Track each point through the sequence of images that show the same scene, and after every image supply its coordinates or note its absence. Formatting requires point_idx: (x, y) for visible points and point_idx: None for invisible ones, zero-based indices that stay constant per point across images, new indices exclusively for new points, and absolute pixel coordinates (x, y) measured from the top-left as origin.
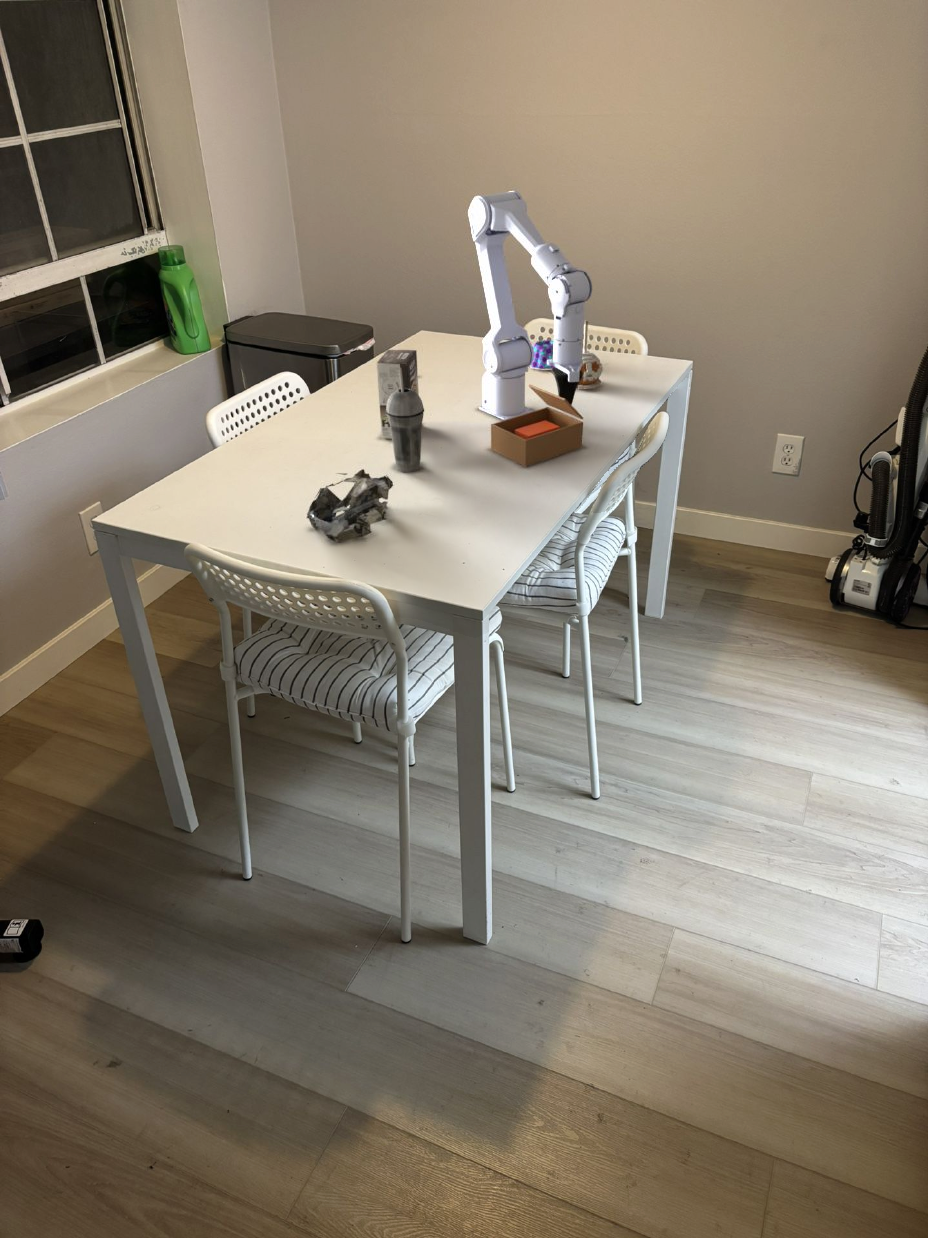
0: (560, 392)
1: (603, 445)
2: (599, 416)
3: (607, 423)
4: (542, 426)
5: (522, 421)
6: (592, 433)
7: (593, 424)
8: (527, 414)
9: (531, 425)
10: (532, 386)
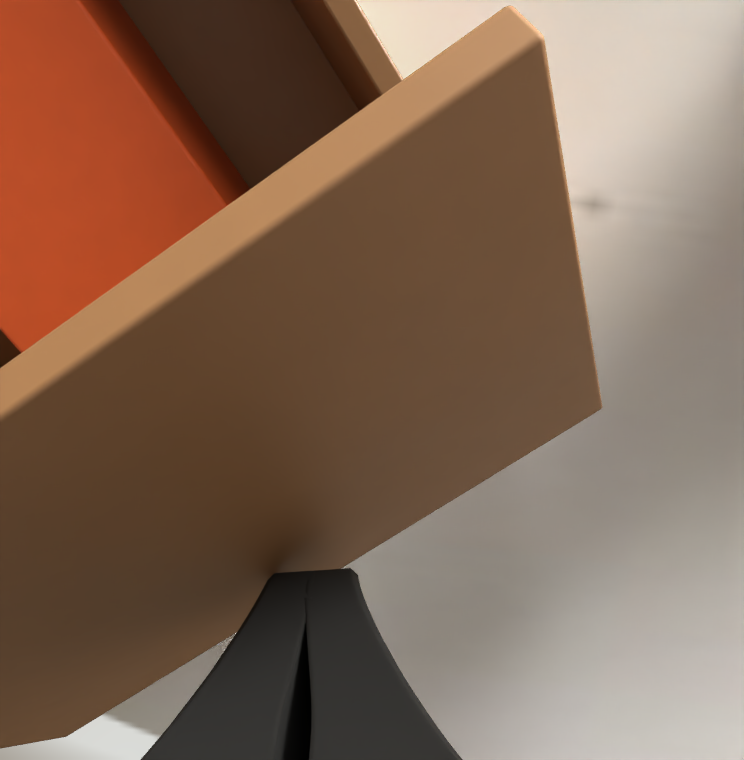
0: (171, 727)
1: (191, 678)
2: (714, 708)
3: (578, 740)
4: (96, 258)
5: (323, 19)
6: (416, 636)
7: (580, 659)
8: (373, 86)
9: (131, 121)
10: (374, 126)
